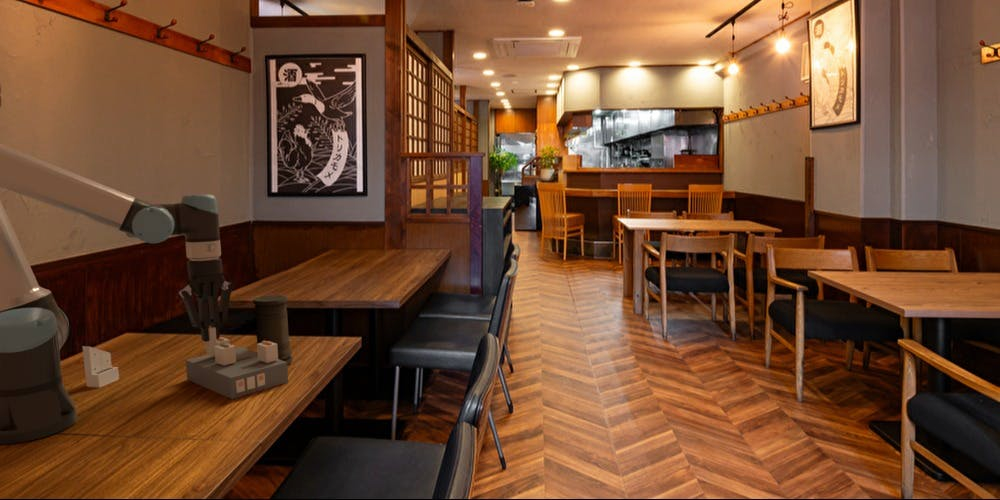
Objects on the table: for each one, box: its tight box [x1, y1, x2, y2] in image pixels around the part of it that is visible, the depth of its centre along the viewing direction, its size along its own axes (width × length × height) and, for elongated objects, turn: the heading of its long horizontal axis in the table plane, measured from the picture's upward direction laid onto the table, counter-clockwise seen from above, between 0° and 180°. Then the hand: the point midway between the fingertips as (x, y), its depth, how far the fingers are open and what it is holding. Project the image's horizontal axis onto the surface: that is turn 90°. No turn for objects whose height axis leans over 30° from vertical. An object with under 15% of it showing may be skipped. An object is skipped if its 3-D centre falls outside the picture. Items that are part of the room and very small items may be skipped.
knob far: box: [211, 337, 231, 357], centre depth 150 cm, size 3×4×4 cm
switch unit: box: [185, 346, 289, 400], centre depth 147 cm, size 14×22×5 cm, turn 51°
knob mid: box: [214, 343, 236, 365], centre depth 145 cm, size 3×4×4 cm
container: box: [252, 294, 294, 366], centre depth 159 cm, size 9×9×18 cm
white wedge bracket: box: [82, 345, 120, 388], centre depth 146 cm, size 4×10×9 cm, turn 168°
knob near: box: [256, 341, 278, 363], centre depth 146 cm, size 3×4×4 cm
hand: (211, 353), depth 149 cm, fingers closed
